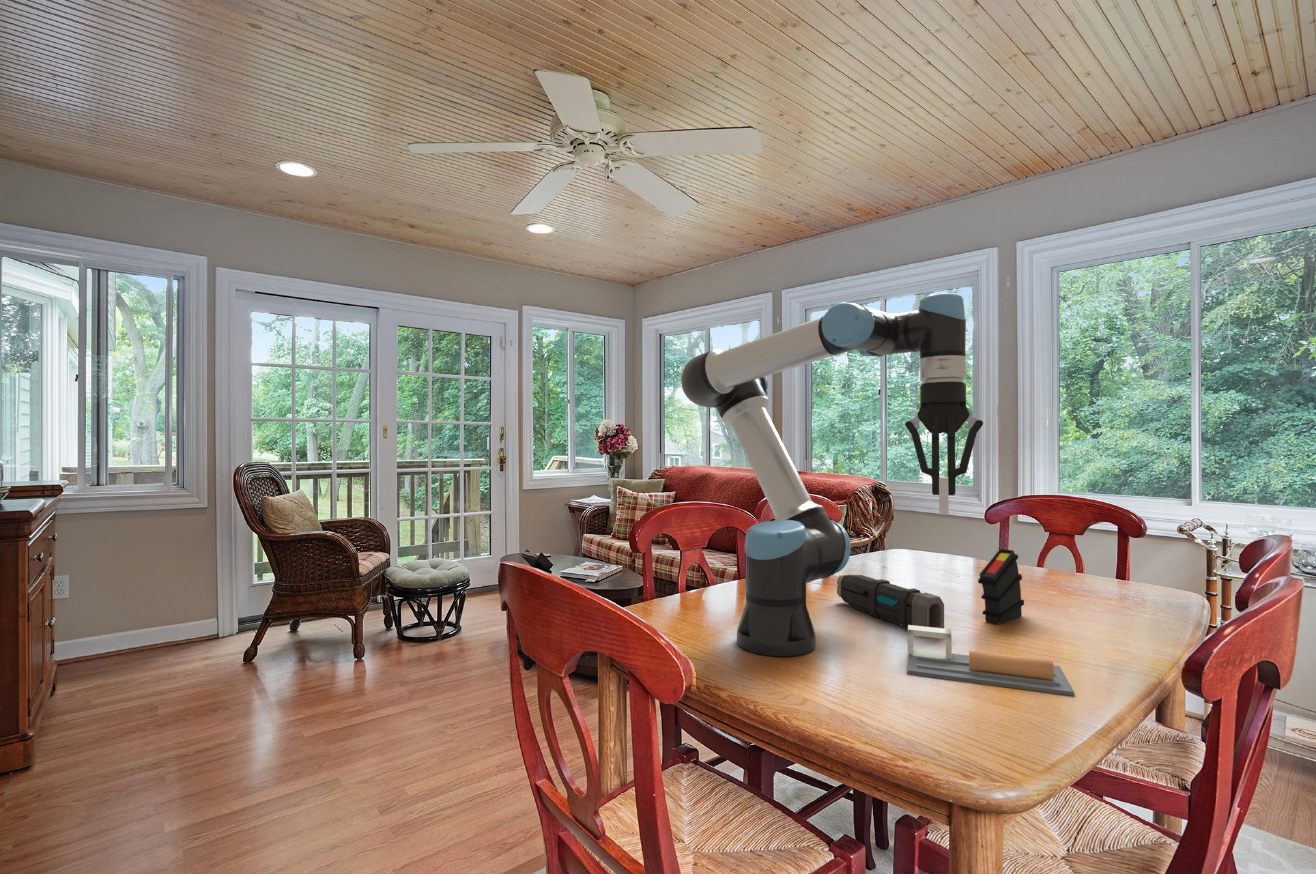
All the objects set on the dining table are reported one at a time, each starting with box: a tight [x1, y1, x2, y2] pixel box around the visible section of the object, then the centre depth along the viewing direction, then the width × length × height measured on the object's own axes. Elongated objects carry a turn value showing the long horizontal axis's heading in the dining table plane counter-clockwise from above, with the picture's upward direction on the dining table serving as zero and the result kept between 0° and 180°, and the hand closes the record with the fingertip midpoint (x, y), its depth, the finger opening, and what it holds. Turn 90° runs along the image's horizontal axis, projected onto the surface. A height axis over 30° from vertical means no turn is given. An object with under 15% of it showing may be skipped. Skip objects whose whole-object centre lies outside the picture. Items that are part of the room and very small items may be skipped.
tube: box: [836, 574, 945, 630], centre depth 140 cm, size 11×7×30 cm
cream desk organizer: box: [907, 625, 953, 659], centre depth 114 cm, size 3×7×4 cm, turn 67°
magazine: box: [977, 548, 1025, 625], centre depth 138 cm, size 4×13×15 cm, turn 127°
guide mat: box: [906, 648, 1075, 697], centre depth 107 cm, size 24×12×1 cm, turn 67°
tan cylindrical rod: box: [968, 650, 1054, 681], centre depth 104 cm, size 12×3×3 cm, turn 66°
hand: (943, 513), depth 113 cm, fingers closed
